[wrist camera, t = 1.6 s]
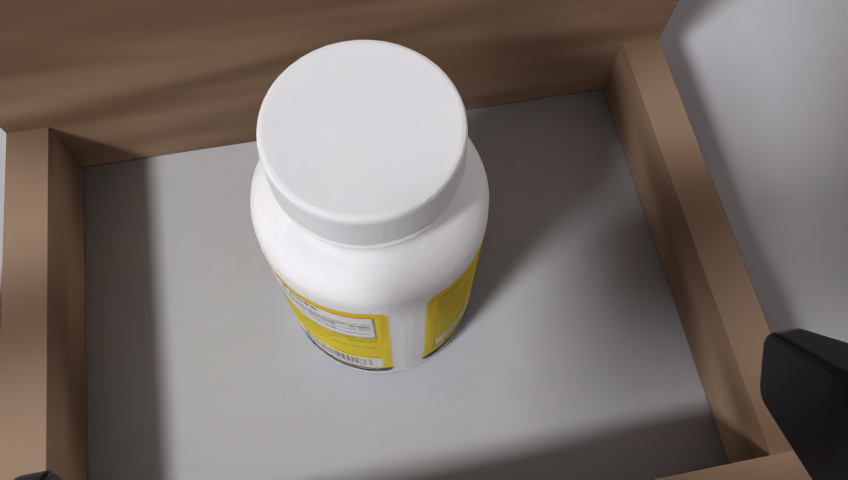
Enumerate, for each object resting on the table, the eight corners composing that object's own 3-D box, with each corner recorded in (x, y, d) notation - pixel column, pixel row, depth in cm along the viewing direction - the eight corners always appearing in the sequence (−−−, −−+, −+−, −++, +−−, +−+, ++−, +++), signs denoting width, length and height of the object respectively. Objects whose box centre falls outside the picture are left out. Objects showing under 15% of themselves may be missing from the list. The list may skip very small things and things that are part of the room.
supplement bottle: (440, 194, 24) (462, -15, 14) (489, 350, 22) (551, 220, 13) (278, 233, 23) (195, 39, 14) (314, 397, 21) (246, 297, 12)
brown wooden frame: (783, 498, 20) (1050, 477, 12) (42, 656, 18) (-263, 765, 10) (625, 56, 26) (730, -170, 17) (46, 141, 24) (-146, -67, 16)
